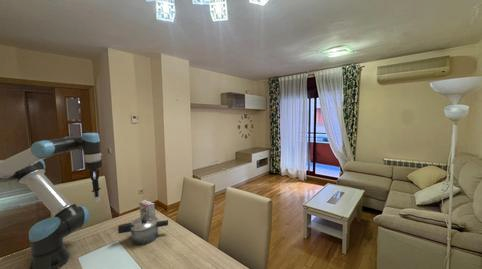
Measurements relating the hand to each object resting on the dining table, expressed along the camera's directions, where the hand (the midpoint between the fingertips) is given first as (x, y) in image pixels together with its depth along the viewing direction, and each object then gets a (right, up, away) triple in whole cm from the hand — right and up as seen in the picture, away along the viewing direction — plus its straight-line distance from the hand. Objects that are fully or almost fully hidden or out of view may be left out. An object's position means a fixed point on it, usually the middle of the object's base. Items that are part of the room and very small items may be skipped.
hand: (97, 201), depth 109 cm
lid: (+18, -19, +11) cm, 28 cm away
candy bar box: (+16, -26, +28) cm, 41 cm away
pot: (+21, -28, +13) cm, 37 cm away
